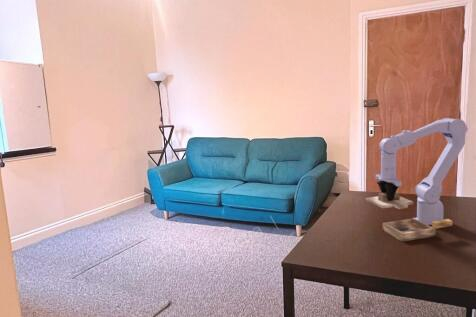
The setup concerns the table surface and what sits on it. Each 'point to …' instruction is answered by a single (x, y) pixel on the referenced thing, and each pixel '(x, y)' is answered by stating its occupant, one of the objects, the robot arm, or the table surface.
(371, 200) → the lid
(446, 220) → the light wooden bar
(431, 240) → the table surface
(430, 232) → the wooden tray
